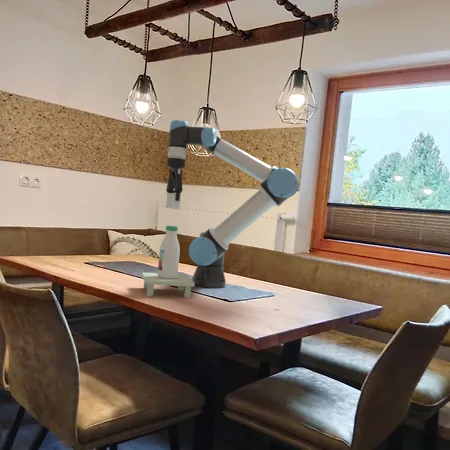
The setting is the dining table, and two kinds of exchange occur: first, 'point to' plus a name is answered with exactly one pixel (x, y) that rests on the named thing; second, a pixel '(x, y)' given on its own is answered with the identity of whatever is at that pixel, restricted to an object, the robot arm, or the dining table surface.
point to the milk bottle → (169, 254)
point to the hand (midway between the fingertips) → (172, 208)
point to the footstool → (167, 283)
